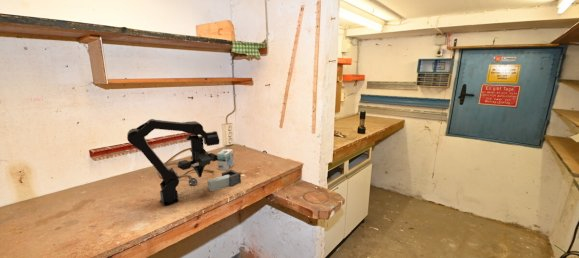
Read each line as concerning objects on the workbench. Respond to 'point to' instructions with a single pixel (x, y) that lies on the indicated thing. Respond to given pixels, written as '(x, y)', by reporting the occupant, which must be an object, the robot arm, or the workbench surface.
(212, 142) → the robot arm
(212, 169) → the workbench surface
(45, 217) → the workbench surface
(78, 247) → the workbench surface
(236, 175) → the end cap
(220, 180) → the grey rectangular block
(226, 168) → the light bulb box
